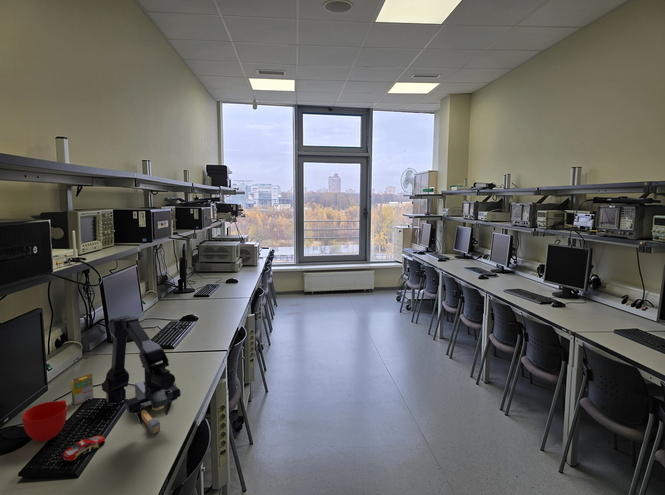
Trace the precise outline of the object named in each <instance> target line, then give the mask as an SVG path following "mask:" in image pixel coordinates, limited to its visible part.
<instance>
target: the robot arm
mask: <svg viewBox="0 0 665 495" xmlns="http://www.w3.org/2000/svg"><path fill="white" fill-rule="evenodd" d="M107 326H108V330H109V333H110V334H111V336H112V337H113V338H112V351H111V352H112V353H111V354H112V356H111V365H110V366H111V367H110V369H109V370H108V372H107V373H106V375H105V380H104V381H103V382H102V384H101V390H102V391H103V392H105V394H106V395H105V397H106V398H105V400H106V401H107V403H108V404H110V403H117V402H120V401H122V400H126V401H125V402H124V404H123V405H124V408H125V410H126V411H127V412H128V414H135V415H136V418H137V420H138V422H139V424H140V425H142V424H143V419H142V415H141V412H142V410H143V409H142V408H141V405H142V404H145V403H148V402H151V403H152V404H151V406H152V405H153V408H159V407H161V406H165V407H164V414H165V416H168V414H169V411H170V408H171V405H172V404H173V402H174V401H176V400H178V398H180V397H181V395H182V394H181V393H182V392H181V390H180V388H179V387H178V386H177V385H176V386H175V385H173V384H174V382H175V383H176V376H175V374H173V373H171V371H170V369H168V368H167V367H169V366H170V363H169V358H168V356H167V355H166V353H165V351H164V349H163V348H162V346H161V345H159V343H157V342H154V341H153V340H151V338H150V337H149V335H148V334H147V332H146V331H145V330H144V328H143V327H142V325H141V324H140V320H139V318H138V316H137V317H135V316H132V317H130V316H129V315H124V316H120V317H115V318H111V319H110V320H109V322H108V324H107ZM129 336H130V338H131V340H133V342H134V344H135V345H136V347H137V348H138V350H139V355H138V356H139V360H140V362H141V364H142V365H141V367H142V368H144V381H145V382H144V385H145V392H144V395H145V398H143V399H140V400H138V399H137V397H132V398H128V399H126V398H127V397H126V396H127V395H126V392H127V391H126V387H128V386H129V380H130V373H129V372H128V370H127V369H126V368H125V365H126V353H127V352H126V351H127V339H128V337H129ZM166 368H167V369H166ZM107 403H106V404H107ZM108 404H107V405H108Z"/></svg>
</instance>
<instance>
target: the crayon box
mask: <svg viewBox="0 0 665 495" xmlns="http://www.w3.org/2000/svg"><path fill="white" fill-rule="evenodd" d="M93 382H94V380H93V373H89V374H85V375H82V376H78V377H75V378H73V380H70V384H71V385H70V386H71V400H72V404H74V406H75V405H77V404H82V403H84V402H87V401H89V400H88V399H90V400H93V399H94V386H93V385H94V383H93ZM86 400H87V401H86Z"/></svg>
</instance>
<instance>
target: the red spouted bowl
mask: <svg viewBox="0 0 665 495" xmlns="http://www.w3.org/2000/svg"><path fill="white" fill-rule="evenodd" d="M67 412H68V406H67V401H66V400H64V399H61V400H59V401H56V400H55V401H53V400H52V401H48V402H46V401H45V402H43V403H40V404H37V405H34V406H32V407H30V408H28V409H27V410H26V411H24V412H23V414H22V417H21V418H22V425H23V428H24V432H25V434H26V435H27V436H28V437H29V438H30V439H32V440H34V441H36V442H37V443H38V442H39V443H42V442H46V441H50V440H52V439H54V438H56V436H58V434H59V433H60V432H61V430H62V429H63V428H64V426H65V424H66V419H67V415H68V414H67ZM53 437H54V438H53Z"/></svg>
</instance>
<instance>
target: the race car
mask: <svg viewBox="0 0 665 495" xmlns="http://www.w3.org/2000/svg"><path fill="white" fill-rule="evenodd" d="M105 442H106V438H105V436H103V435H94V436H92V437H89V438H84V439H81V440H80V441H77V442H76V443H75V444H74V443H73V445H72V446H70V447H69V448H67V449H66V450H65V451H64V452H63V456H62V460H63V459H64V460H63V461H65V460H66V461H65V462H67V461H72V460H75V459H77V458H78V457H80V456H82V455H83V454H85V453H88V452H90V453H92V452H94V451H96V450H97V449H99V448H101V447H102V446H103V447H104V444H106V443H105Z"/></svg>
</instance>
